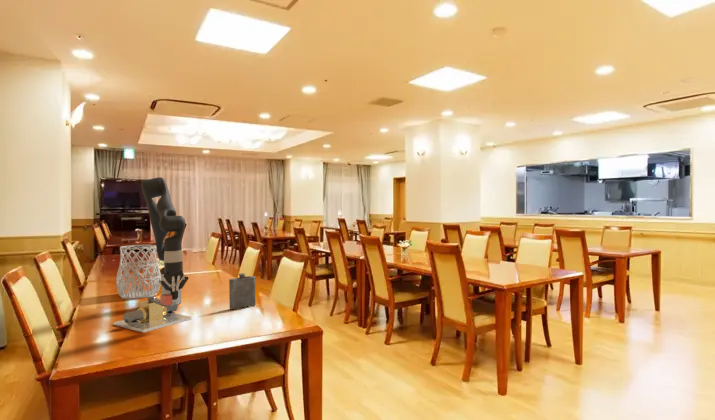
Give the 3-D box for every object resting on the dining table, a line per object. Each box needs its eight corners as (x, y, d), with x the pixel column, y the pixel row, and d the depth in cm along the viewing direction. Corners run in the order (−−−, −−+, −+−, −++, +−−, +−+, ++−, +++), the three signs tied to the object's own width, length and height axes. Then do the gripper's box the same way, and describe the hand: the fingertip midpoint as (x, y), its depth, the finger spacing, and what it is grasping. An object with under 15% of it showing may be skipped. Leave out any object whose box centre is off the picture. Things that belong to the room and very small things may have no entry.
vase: (127, 291, 265) (126, 244, 264) (166, 290, 267) (166, 243, 267) (108, 300, 241) (107, 248, 240) (152, 299, 243) (151, 247, 243)
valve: (162, 313, 211) (161, 294, 211) (191, 319, 199) (191, 299, 199) (113, 324, 190) (113, 303, 190) (143, 332, 178) (142, 310, 178)
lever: (146, 300, 195) (146, 289, 195) (154, 299, 198) (154, 288, 198) (164, 308, 180) (164, 296, 180) (172, 306, 183) (172, 295, 183)
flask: (228, 308, 219) (227, 274, 219) (253, 304, 228) (253, 271, 228) (230, 310, 216) (230, 275, 216) (256, 305, 225) (256, 272, 225)
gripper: (183, 258, 193) (184, 295, 194) (154, 261, 183) (155, 301, 184) (191, 259, 188) (192, 297, 189) (162, 263, 178) (163, 303, 179)
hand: (174, 299), depth 186 cm, fingers closed
